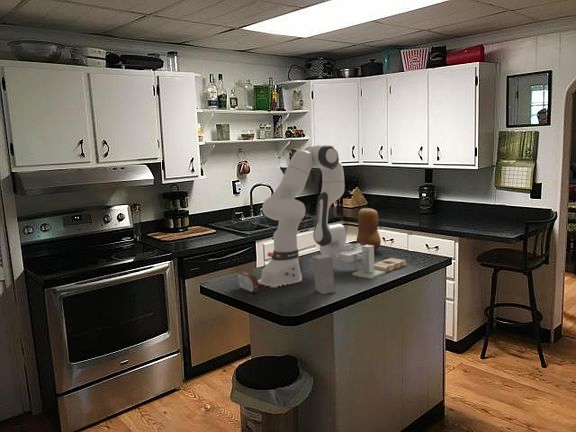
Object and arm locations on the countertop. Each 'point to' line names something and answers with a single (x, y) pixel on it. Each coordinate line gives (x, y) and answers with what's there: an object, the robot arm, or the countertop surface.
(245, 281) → the brown white rounded block
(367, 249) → the white rectangular block
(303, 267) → the countertop surface
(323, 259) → the skincare box
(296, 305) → the countertop surface
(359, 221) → the butternut squash
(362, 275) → the green mat
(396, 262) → the plane body
